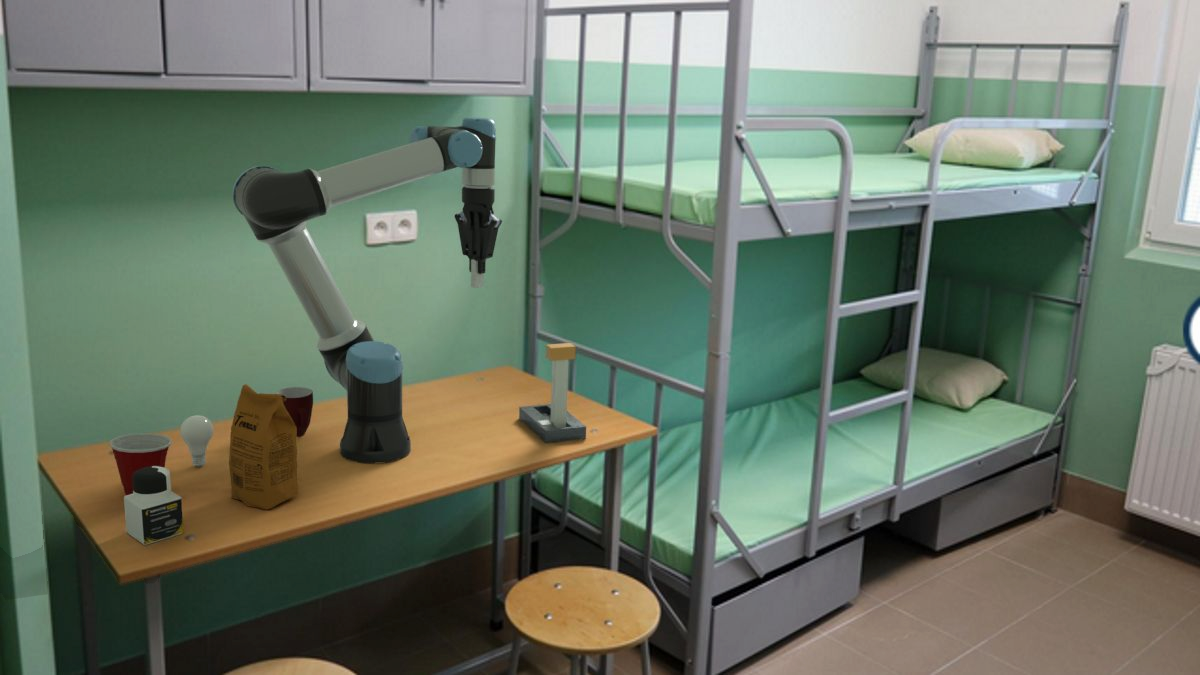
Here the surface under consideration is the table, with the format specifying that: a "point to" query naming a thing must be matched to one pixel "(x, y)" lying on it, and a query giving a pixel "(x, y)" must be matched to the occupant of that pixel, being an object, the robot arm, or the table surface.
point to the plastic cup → (138, 454)
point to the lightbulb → (197, 437)
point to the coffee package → (262, 450)
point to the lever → (559, 380)
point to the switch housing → (545, 430)
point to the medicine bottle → (153, 506)
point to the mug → (298, 406)
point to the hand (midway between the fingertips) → (477, 286)
